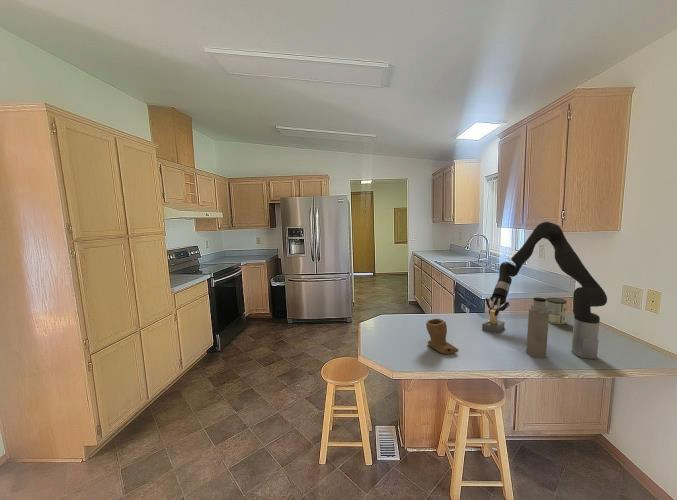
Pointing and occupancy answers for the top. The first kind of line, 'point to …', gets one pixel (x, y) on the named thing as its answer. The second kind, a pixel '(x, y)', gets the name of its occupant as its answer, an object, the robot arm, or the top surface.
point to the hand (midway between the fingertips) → (492, 314)
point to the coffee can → (556, 310)
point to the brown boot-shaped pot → (439, 336)
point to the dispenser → (493, 326)
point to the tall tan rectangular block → (493, 316)
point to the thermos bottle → (537, 328)
